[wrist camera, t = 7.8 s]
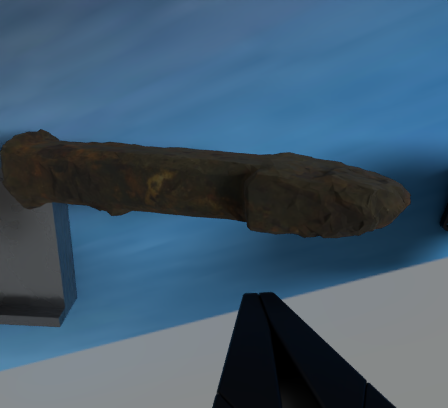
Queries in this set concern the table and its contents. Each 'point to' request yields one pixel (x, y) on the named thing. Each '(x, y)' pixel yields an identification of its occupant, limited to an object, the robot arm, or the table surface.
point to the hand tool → (203, 185)
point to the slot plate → (35, 263)
